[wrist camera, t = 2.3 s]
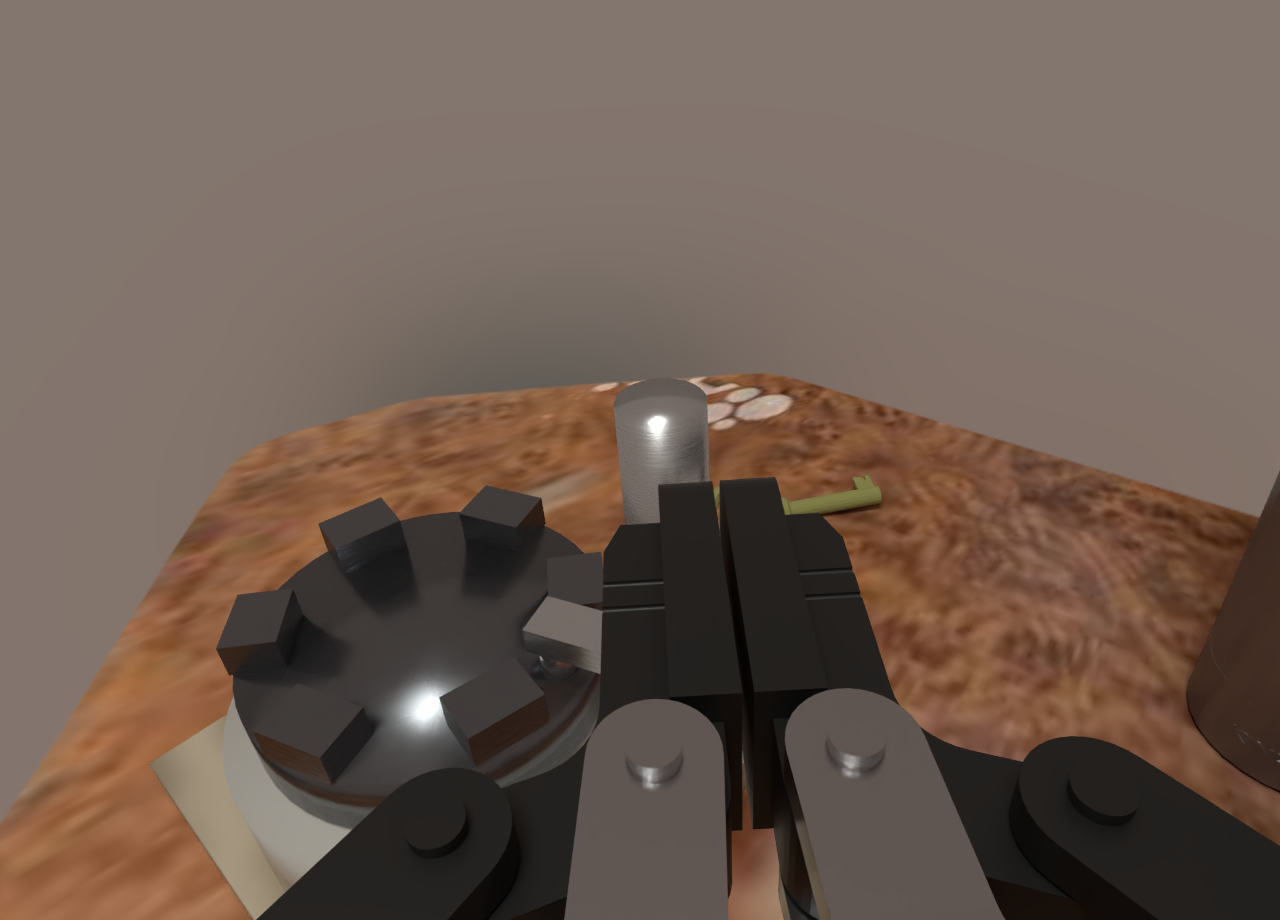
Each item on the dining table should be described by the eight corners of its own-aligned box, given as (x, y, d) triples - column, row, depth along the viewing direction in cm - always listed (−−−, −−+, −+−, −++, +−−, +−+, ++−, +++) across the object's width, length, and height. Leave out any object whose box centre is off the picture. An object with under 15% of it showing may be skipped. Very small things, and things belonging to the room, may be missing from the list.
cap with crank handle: (472, 515, 50) (408, 231, 40) (769, 710, 37) (778, 364, 28) (191, 684, 40) (24, 368, 31) (459, 1018, 28) (316, 658, 19)
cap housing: (493, 564, 54) (479, 500, 51) (732, 731, 43) (732, 660, 40) (191, 761, 44) (152, 694, 41) (403, 1053, 32) (371, 988, 29)
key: (889, 514, 59) (892, 489, 58) (727, 572, 56) (727, 546, 55) (829, 462, 65) (831, 437, 64) (679, 511, 62) (678, 486, 60)
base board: (502, 566, 57) (497, 542, 56) (775, 754, 44) (776, 728, 43) (163, 788, 45) (149, 764, 44) (403, 1144, 32) (391, 1122, 30)
